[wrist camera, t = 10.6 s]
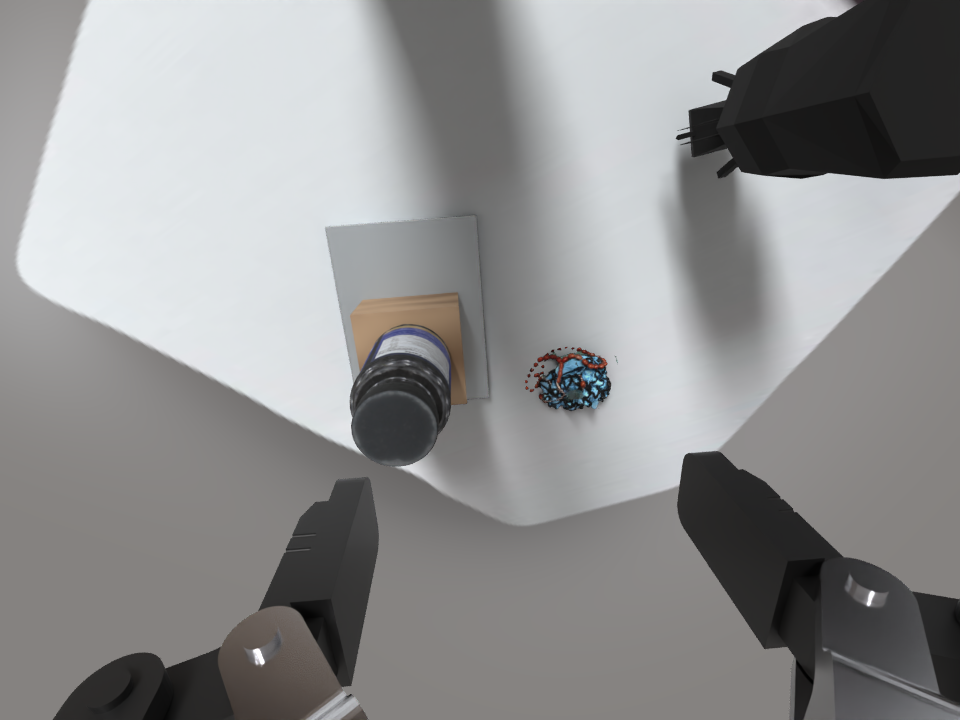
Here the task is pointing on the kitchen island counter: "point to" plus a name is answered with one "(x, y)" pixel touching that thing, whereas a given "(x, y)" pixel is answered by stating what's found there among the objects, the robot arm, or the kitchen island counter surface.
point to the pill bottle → (402, 396)
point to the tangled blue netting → (574, 380)
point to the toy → (845, 98)
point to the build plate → (413, 276)
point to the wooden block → (419, 310)
